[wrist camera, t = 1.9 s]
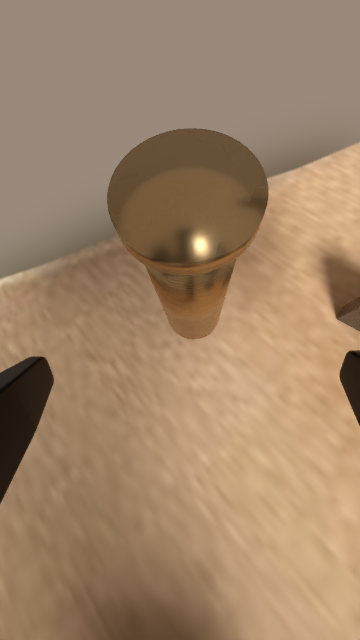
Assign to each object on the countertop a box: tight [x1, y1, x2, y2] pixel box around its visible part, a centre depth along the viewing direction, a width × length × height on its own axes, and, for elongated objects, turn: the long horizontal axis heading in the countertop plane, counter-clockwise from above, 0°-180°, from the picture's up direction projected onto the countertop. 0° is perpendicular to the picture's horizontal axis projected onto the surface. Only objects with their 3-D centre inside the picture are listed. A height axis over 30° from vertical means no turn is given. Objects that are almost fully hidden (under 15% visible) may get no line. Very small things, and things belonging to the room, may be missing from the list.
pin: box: [107, 129, 268, 339], centre depth 14 cm, size 5×5×13 cm
